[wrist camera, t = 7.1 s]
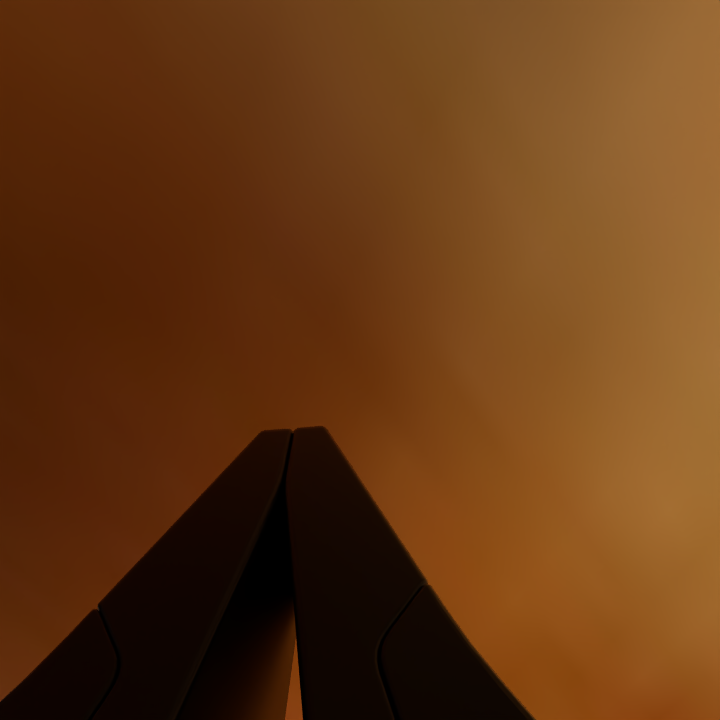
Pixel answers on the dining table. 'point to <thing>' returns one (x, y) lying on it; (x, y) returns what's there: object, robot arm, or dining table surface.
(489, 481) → the dining table surface
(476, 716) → the robot arm
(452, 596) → the dining table surface
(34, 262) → the dining table surface
